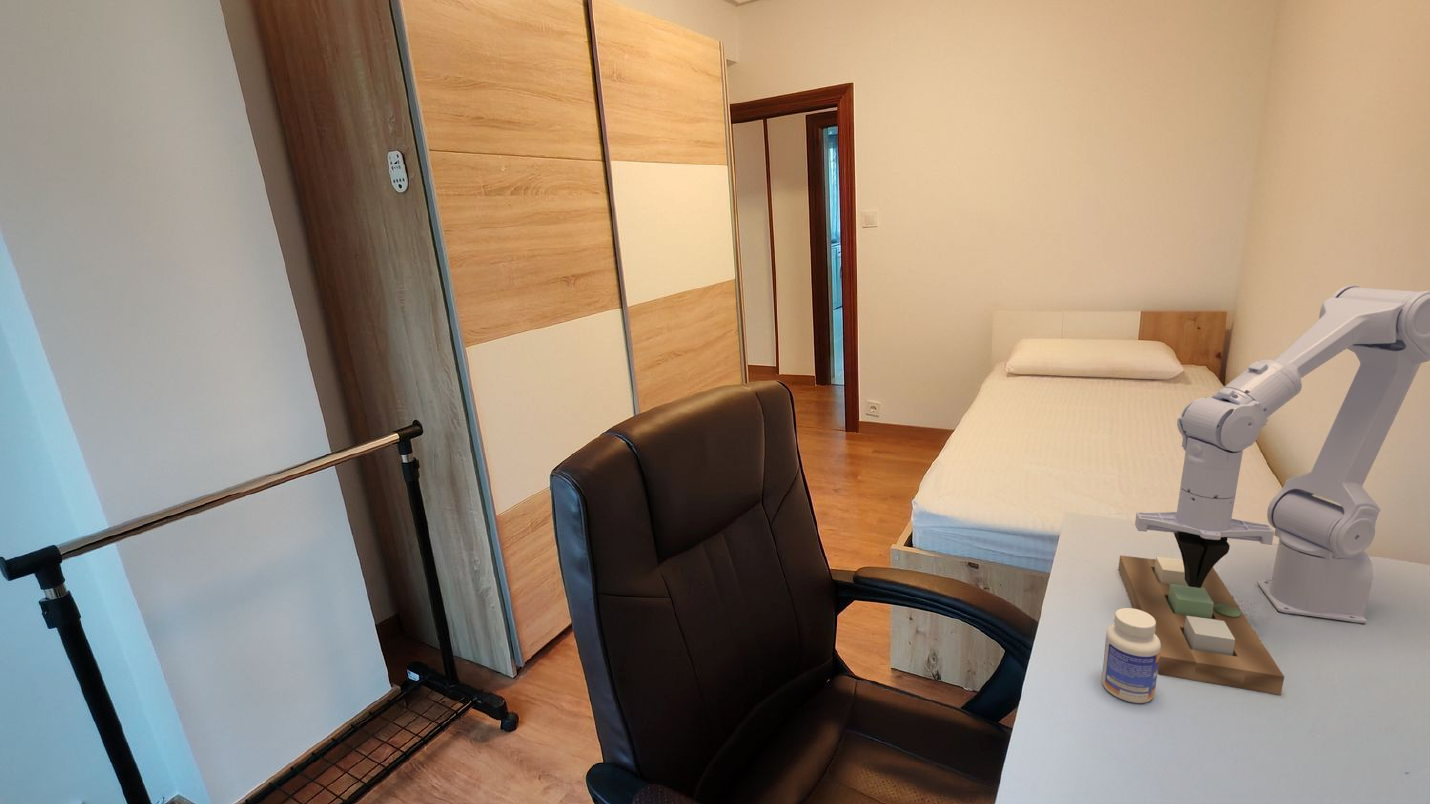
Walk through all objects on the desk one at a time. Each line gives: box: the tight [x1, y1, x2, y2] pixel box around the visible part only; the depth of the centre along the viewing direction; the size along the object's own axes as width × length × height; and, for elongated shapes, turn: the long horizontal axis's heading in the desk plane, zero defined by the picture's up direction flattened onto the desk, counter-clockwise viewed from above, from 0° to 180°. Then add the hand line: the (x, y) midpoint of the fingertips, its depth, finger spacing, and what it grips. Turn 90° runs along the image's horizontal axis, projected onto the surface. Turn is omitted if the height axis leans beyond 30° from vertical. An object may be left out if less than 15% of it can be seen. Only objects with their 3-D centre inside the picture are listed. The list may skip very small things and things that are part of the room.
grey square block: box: [1183, 616, 1235, 656], centre depth 81 cm, size 4×4×3 cm
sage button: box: [1167, 584, 1214, 619], centre depth 88 cm, size 4×4×3 cm
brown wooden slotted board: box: [1118, 555, 1285, 696], centre depth 88 cm, size 12×26×3 cm, turn 158°
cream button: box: [1154, 556, 1188, 586], centre depth 95 cm, size 4×4×3 cm
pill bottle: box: [1101, 607, 1161, 704], centre depth 76 cm, size 5×5×10 cm
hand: (1192, 583), depth 87 cm, fingers closed
